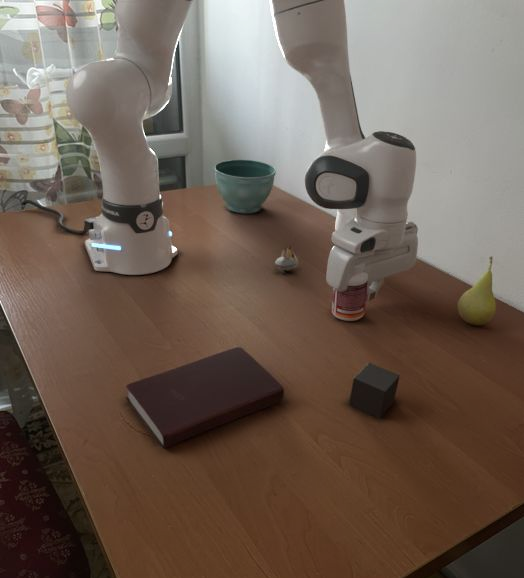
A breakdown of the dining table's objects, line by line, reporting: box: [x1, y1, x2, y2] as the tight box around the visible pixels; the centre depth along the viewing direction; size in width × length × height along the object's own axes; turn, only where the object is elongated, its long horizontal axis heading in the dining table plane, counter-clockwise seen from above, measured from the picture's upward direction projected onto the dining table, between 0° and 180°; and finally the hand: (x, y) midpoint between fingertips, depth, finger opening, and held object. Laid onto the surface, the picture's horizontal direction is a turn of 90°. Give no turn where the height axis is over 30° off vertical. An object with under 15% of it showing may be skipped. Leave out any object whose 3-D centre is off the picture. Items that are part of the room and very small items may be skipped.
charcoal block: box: [348, 362, 401, 419], centre depth 80 cm, size 5×5×5 cm
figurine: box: [274, 245, 299, 274], centre depth 116 cm, size 5×4×6 cm
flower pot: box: [213, 159, 277, 214], centre depth 146 cm, size 16×16×11 cm
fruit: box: [457, 255, 497, 326], centre depth 100 cm, size 7×8×12 cm
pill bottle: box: [331, 261, 368, 322], centre depth 100 cm, size 6×6×11 cm
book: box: [125, 346, 285, 449], centre depth 79 cm, size 12×19×3 cm, turn 124°
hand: (368, 299), depth 105 cm, fingers closed
